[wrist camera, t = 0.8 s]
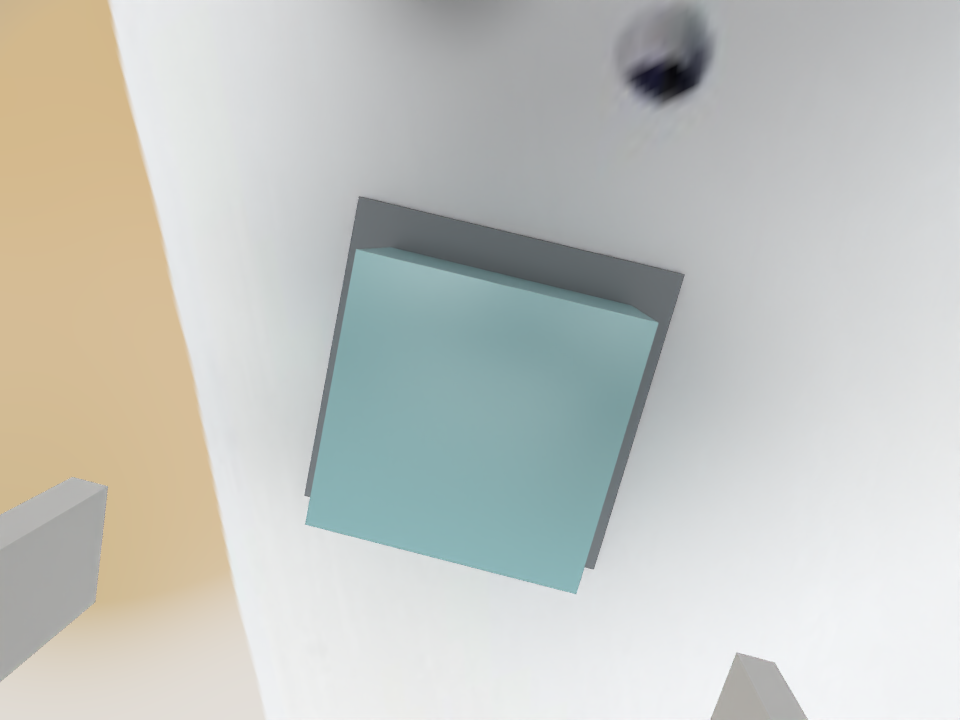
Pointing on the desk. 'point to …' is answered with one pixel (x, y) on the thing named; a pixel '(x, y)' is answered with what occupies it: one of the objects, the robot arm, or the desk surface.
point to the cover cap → (476, 415)
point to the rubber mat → (525, 261)
